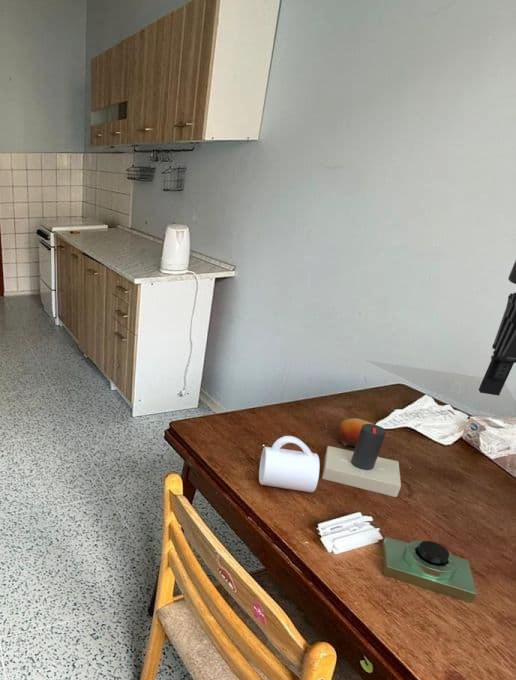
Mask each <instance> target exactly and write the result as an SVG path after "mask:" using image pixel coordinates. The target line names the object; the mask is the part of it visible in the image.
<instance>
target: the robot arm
mask: <svg viewBox="0 0 516 680" xmlns="http://www.w3.org/2000/svg"><path fill="white" fill-rule="evenodd" d="M507 279H508V281H509V282H510V283H512V284H514V285H516V260H515V261H514V263H513V265H512V267H511V270H510V272H509V276H508V277H507ZM493 341H494V342H493V344H492V347H491V348H492V349H493V352H492V355H491V356H490V361H489V365H488V367H487V369H486V372H485V373H484V376H483V378H482V381H481V383H480V385H479V387H478V391H479V393H480V394H485V395H486V394H487V395H493V396H498V397H499V396H500V394H501V392H502V390H503V388H504V386H505V384H506V381H507V380H508V377H509V375H510V373H511V371H512V368H513V367H514V364H515V363H516V292H513V293H510V294H509V295H508V298H507V302H506V307H505V309H504V312H503V316H502V318H501V321H500V324H499V327H498V330H497V332H496V335H495V338H494V340H493Z"/></svg>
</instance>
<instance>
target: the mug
mask: <svg viewBox="0 0 516 680" xmlns="http://www.w3.org/2000/svg"><path fill="white" fill-rule="evenodd" d="M286 444H295V445H296V446H298V447H299V448H300V449H301V450H302V451H300V450H295V449H287V448H286V449H285V448H282V447H283V446H284V445H286ZM320 466H321V463H320V457H319V455H318V453H315V452H312V451H311V449H310V448H309V447H308V445H307V444H306V443H305V442H304V441H302V440H301V439H300V438H298V437H296V436H292V435H284V436H281V437H279V438H277V439H276V440H275V441H274V442H273V444H272V446H263V449H262V452H261V455H260V460H259V467H258V468H259V471H258V482H259V484H260V485H261V486H266V487H274V488H281V489H288V490H293V491H299V492H307V493H314V492H315V490H316V489H317V486H318V484H319V478H320V471H321V470H320Z"/></svg>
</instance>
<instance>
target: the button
mask: <svg viewBox="0 0 516 680" xmlns="http://www.w3.org/2000/svg"><path fill="white" fill-rule="evenodd" d="M422 541H423V542H421V543H420V545H419V547H418V549H417V555H418V556H419V558H420V559H422V560H424V561H426V562H427V563H429V564H432V565H436V566H443V565H445V563H446V561H447V559H448V557H449V552H450V551H449V550H448V549H447V548H446V547H445V546H444V545H442V544H440V543H438V542H435V541H432V540H422ZM448 551H449V552H448Z"/></svg>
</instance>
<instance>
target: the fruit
mask: <svg viewBox="0 0 516 680" xmlns="http://www.w3.org/2000/svg"><path fill="white" fill-rule="evenodd" d="M364 424H374V423H373V422H370V421H367V420H363V418H362V419H361V418H355V417H354V418H353V417H352V418H347V419H344V420H342V421H341V424H340V426H339V431H338V433H339V440H340V442H341V443H342V445H343V447H346V446H351V447H353V448H355V447H356V443H357V440H358V437H359V434H360V431H361V428H362V426H363V425H364Z"/></svg>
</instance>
